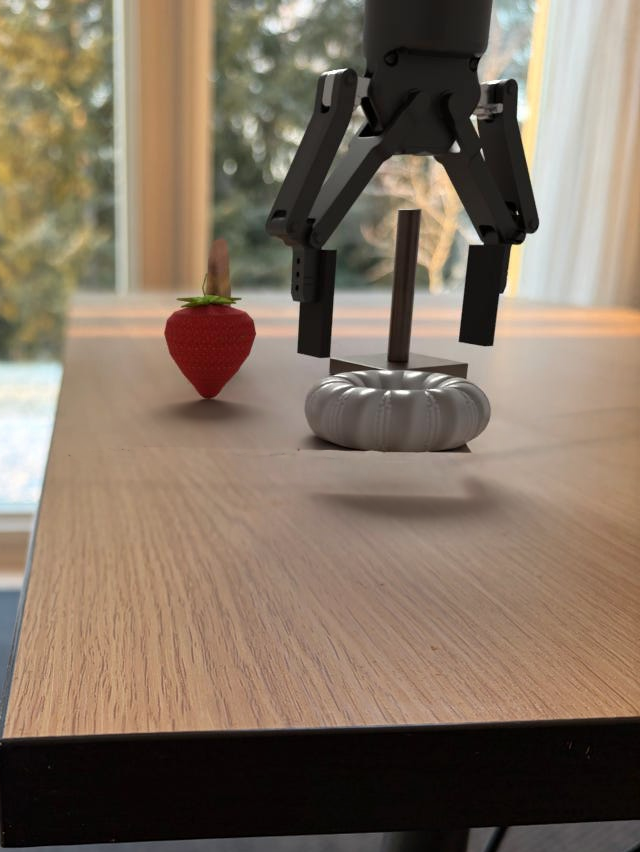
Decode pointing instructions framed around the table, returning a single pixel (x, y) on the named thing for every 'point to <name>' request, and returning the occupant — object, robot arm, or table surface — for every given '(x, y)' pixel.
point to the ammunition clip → (218, 270)
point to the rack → (401, 314)
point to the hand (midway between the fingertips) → (397, 350)
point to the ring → (397, 410)
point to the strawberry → (209, 341)
